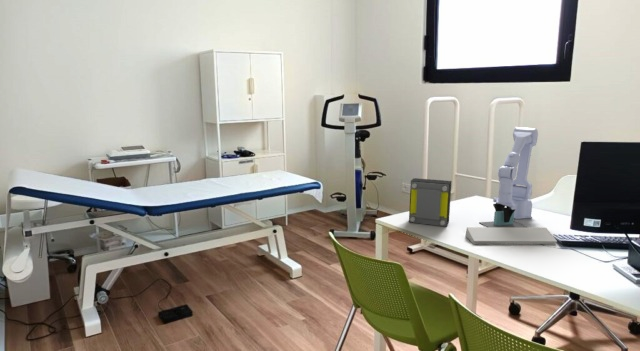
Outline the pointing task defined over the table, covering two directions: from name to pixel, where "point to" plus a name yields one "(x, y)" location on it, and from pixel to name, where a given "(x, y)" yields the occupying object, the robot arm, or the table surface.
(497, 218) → the card box
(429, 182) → the electrical component
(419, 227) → the table surface
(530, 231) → the bevelled gray strip
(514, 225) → the mat
